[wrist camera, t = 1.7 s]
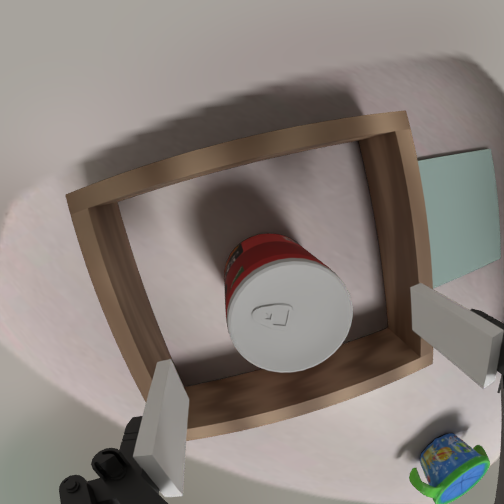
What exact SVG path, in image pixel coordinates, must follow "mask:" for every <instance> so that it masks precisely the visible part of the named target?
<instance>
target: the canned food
mask: <svg viewBox="0 0 504 504" xmlns="http://www.w3.org/2000/svg"><path fill="white" fill-rule="evenodd" d="M224 282H225V307H226V320H227V327H228V332H229V334H230V337H231V340H232V342H233V344H234V346H235V348H236V349H237V350H238V352H239V353H240V354H241V355H242V356H243V357H244V358H245V359H246V360H247V361H249V362H250V363H252V364H254V365H255V366H257V367H259V368H262V369H265V370H268V371H273V372H280V373H284V372H296V371H302V370H305V369H308V368H311V367H314V366H316V365H318V364H319V363H321V362H323V361H325V360H326V359H327V358H329V357H330V356H331V355H332V354H334V353H335V351H336V350H337V349H338V348H339V347H340V346H341V345H342V343H343V341H344V340H345V338H346V337H347V334H348V332H349V329H350V327H351V322H352V317H353V307H352V301H351V297H350V294H349V292H348V290H347V288H346V286H345V285H344V283H343V282H342V281H341V279H340V278H339V277H338V276H337V275H336V273H334V272H333V271H332V270H331V269H330V268H329V267H327V266H326V265H325V264H323V263H322V262H321V261H320V260H318V259H317V258H316V257H314V256H313V255H312V254H311V253H309V252H308V251H307V250H305V249H304V248H303V247H302V246H300V245H299V244H298V243H296V242H295V241H294V240H292V239H290V238H288V237H286V236H283V235H279V234H269V233H267V234H259V235H256V236H253V237H250V238H248V239H246V240H245V241H243V242H242V243H240V244H239V245H238V246H237V247H236V248H235V249H234V250H233V252H232V253H231V254H230V256H229V258H228V260H227V263H226V266H225V274H224Z"/></svg>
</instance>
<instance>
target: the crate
mask: <svg viewBox="0 0 504 504" xmlns="http://www.w3.org/2000/svg"><path fill="white" fill-rule="evenodd" d="M353 141H359V145H360V149H361V153H362V157H363V162H364V166H365V171H366V175H367V180H368V185H369V190H370V195H371V200H372V206H373V211H374V217H375V223H376V229H377V235H378V241H379V248H380V255H381V263H382V271H383V279H384V288H385V297H386V308H387V320H388V328H386V329H384V330H381V331H378V332H376V333H373V334H370V335H368V336H365V337H362V338H359V339H357V340H354V341H351V342H348V343H345V344H342V345H341V346H340V347H339V348H338V349H337V350H336V351H335V353H334V354H332V355H331V356H330V357H329V358H327V359H326V360H325V361H323V362H321V363H319V364H318V365H316V366H314V367H311V368H308V369H305V370H302V371H296V372H284V373H280V372H273V371H268V370H265V369H260V370H256V371H252V372H248V373H245V374H241V375H236V376H232V377H228V378H224V379H220V380H215V381H211V382H206V383H202V384H197V385H192V386H187V387H184V386H183V387H184V389H185V391H186V393H187V396H188V398H189V409H188V422H187V435H186V441H189V440H195V439H201V438H207V437H213V436H218V435H223V434H228V433H233V432H238V431H242V430H247V429H251V428H255V427H259V426H263V425H267V424H271V423H275V422H279V421H283V420H286V419H290V418H293V417H297V416H300V415H304V414H307V413H310V412H313V411H316V410H320V409H323V408H326V407H329V406H332V405H335V404H337V403H340V402H343V401H346V400H349V399H351V398H354V397H357V396H360V395H362V394H365V393H367V392H370V391H372V390H375V389H377V388H380V387H382V386H385V385H387V384H390V383H392V382H394V381H397V380H399V379H401V378H403V377H406V376H408V375H410V374H412V373H414V372H416V371H419V370H421V369H423V368H425V367H427V366H429V365H431V364H433V346H431V345H430V344H429V343H428V342H427V341H425V340H424V339H423V338H422V337H420V336H419V335H418V334H417V333H415V332H414V331H413V330H412V309H411V291H410V287H412V286H415V285H417V284H420V283H422V284H424V285H426V286H428V287H429V288H431V289H433V279H432V263H431V250H430V240H429V231H428V222H427V214H426V207H425V200H424V194H423V187H422V182H421V176H420V171H419V165H418V160H417V155H416V151H415V146H414V142H413V137H412V133H411V129H410V125H409V121H408V117H407V113H406V111H397V112H388V113H379V114H371V115H363V116H356V117H349V118H342V119H336V120H330V121H324V122H318V123H312V124H307V125H301V126H296V127H291V128H286V129H281V130H276V131H271V132H267V133H262V134H258V135H253V136H249V137H245V138H241V139H236V140H232V141H228V142H224V143H221V144H217V145H213V146H209V147H205V148H202V149H198V150H195V151H191V152H188V153H184V154H181V155H177V156H174V157H171V158H167V159H164V160H161V161H158V162H154V163H151V164H148V165H145V166H142V167H139V168H136V169H133V170H130V171H127V172H124V173H122V174H119V175H116V176H113V177H110V178H108V179H105V180H102V181H99V182H97V183H94V184H91V185H89V186H86V187H84V188H81V189H79V190H76V191H74V192H71V193H69V194H66V199H67V203H68V207H69V211H70V214H71V218H72V221H73V225H74V228H75V232H76V235H77V238H78V242H79V245H80V248H81V251H82V254H83V257H84V260H85V263H86V266H87V269H88V272H89V275H90V278H91V281H92V283H93V286H94V289H95V291H96V294H97V297H98V299H99V302H100V304H101V307H102V310H103V312H104V314H105V317H106V319H107V322H108V324H109V327H110V329H111V331H112V334H113V336H114V338H115V340H116V343H117V345H118V347H119V349H120V351H121V354H122V356H123V358H124V360H125V362H126V364H127V366H128V368H129V370H130V373H131V375H132V377H133V379H134V381H135V383H136V385H137V386H138V388H139V390H140V392H141V394H142V396H143V398H144V400H145V402H146V401H147V398H148V394H149V390H150V387H151V383H152V379H153V376H154V372H155V368H156V365H157V362H159V361H164V360H168V359H171V360H172V358H171V356H170V354H169V351H168V349H167V346H166V344H165V341H164V339H163V336H162V334H161V331H160V329H159V326H158V324H157V321H156V319H155V316H154V313H153V311H152V308H151V305H150V303H149V300H148V297H147V294H146V291H145V289H144V286H143V283H142V280H141V277H140V274H139V271H138V268H137V265H136V262H135V259H134V256H133V253H132V250H131V247H130V244H129V240H128V237H127V234H126V230H125V227H124V224H123V220H122V217H121V213H120V210H119V206H118V202H119V201H122V200H125V199H128V198H131V197H134V196H137V195H140V194H143V193H146V192H149V191H153V190H156V189H159V188H162V187H166V186H169V185H172V184H176V183H179V182H182V181H186V180H189V179H193V178H196V177H200V176H203V175H207V174H211V173H214V172H218V171H222V170H226V169H230V168H233V167H237V166H241V165H245V164H249V163H253V162H257V161H262V160H266V159H270V158H275V157H279V156H283V155H288V154H292V153H297V152H302V151H307V150H311V149H316V148H321V147H326V146H332V145H337V144H342V143H348V142H353ZM172 362H173V361H172ZM173 364H174V363H173ZM174 367H175V365H174ZM175 369H176V368H175ZM176 371H177V370H176ZM177 374H178V372H177ZM178 376H179V375H178ZM179 378H180V377H179ZM180 380H181V379H180ZM181 382H182V381H181ZM182 385H183V383H182Z"/></svg>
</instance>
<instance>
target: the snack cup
mask: <svg viewBox="0 0 504 504" xmlns="http://www.w3.org/2000/svg"><path fill="white" fill-rule="evenodd" d="M420 463H421V466H422V468H423V471H424V474H425V476H426V478H427V481H428V483H429V485H428V484H426V483H424V482H422V481H421V479H420V477H419V474H418V471H417V468H413V469H412V471H411V473H410V477H409V479H410V482H411V484H412V485H413V486H414V487H415V488H416V489H417V490H418V491H419V492H421V493H422V494H423V495H426V496H428V497H431V498H433V500H434V502H435V504H448V503H450V502H452V501H454V500H456V499H458V498H459V497H461V496H462V495H464V494H465V493H466V492H468V491H469V490H470V489H471V488H473V487H474V486H475V485H476V484H477V483H478V482H479V480H481V478H482V477H483V476H484V475H485V473H486V472H487V470H488V468H489V466H490V461H489V459H488V456H487V454H486V452H485V450H484V449H483V448H482V446H480V445H476V446H475V447H474V449H472V448H471V447H470V446H468V445H467V444H466V443H465V442H464V441H463V440H461V439H460V438H458V437H457V436H456V435H455V434H453V433H450V434H446V435H443V436H442V437H439V438H436V439H435V440H434V441H433V442H432V443H431V444H430V445H428V446H427V448H426V449H425V450H424V451H423V452H422V453H421V458H420Z"/></svg>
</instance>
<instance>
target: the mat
mask: <svg viewBox="0 0 504 504" xmlns="http://www.w3.org/2000/svg"><path fill="white" fill-rule="evenodd" d="M418 165H419V171H420V176H421V182H422V187H423V194H424V200H425V207H426V214H427V222H428V231H429V240H430V250H431V263H432V279H433V288H435V287H438V286H440V285H443V284H445V283H447V282H450V281H452V280H454V279H457V278H459V277H461V276H463V275H466V274H468V273H470V272H472V271H474V270H477V269H479V268H481V267H483V266H485V265H487V264H490V263H492V262H494V261H496V260H498V259H500V258H501V248H500V222H499V208H498V197H497V188H496V179H495V172H494V165H493V159H492V153H491V149H484V150H478V151H471V152H465V153H459V154H453V155H447V156H441V157H436V158H430V159H425V160H419V161H418Z"/></svg>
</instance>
